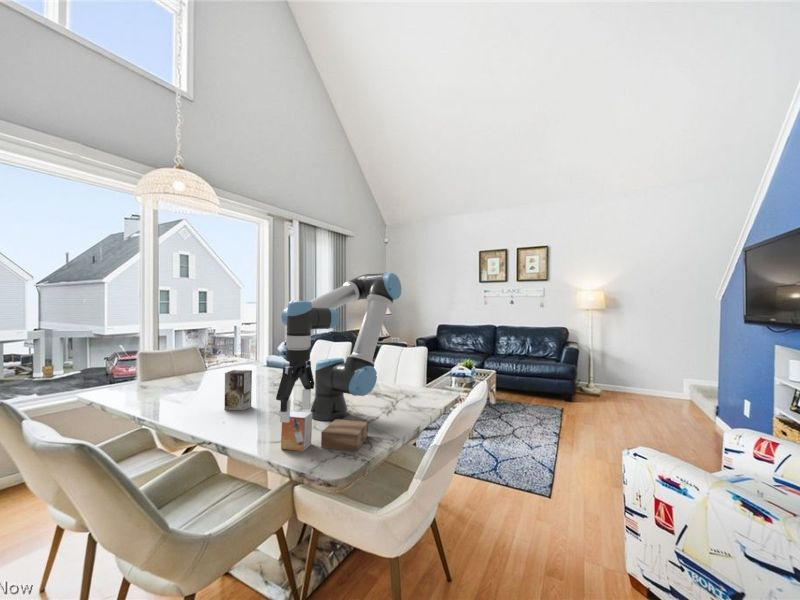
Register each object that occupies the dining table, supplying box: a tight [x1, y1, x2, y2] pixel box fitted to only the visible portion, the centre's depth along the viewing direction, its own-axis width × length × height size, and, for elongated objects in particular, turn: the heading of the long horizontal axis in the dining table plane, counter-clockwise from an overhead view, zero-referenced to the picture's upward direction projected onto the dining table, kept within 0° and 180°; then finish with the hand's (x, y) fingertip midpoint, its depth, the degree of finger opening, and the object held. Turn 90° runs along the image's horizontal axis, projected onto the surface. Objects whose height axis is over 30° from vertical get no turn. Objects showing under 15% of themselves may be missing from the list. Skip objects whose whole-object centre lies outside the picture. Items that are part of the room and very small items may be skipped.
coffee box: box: [224, 369, 253, 411], centre depth 142 cm, size 9×6×16 cm
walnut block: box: [320, 418, 369, 452], centre depth 108 cm, size 12×12×5 cm
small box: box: [280, 410, 313, 452], centre depth 104 cm, size 8×6×10 cm
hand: (296, 414), depth 104 cm, fingers open, 13 cm apart
